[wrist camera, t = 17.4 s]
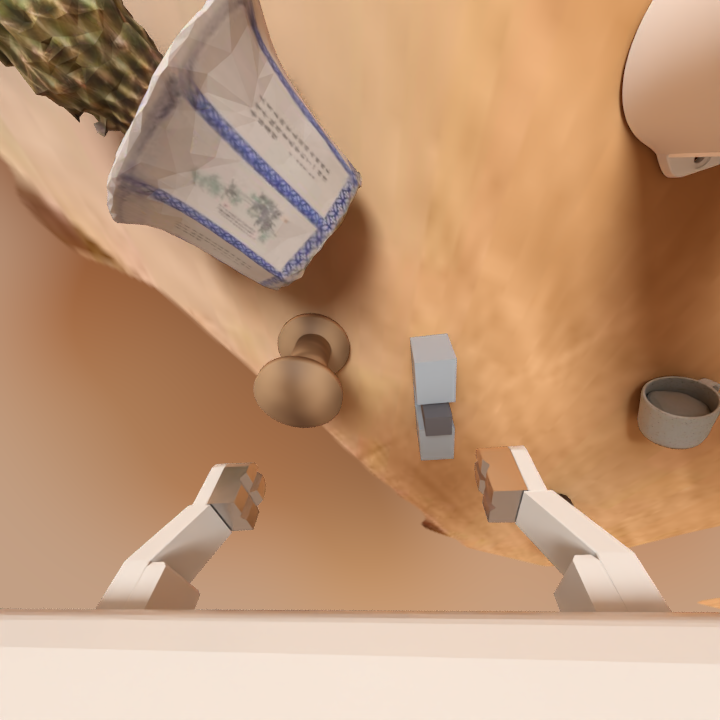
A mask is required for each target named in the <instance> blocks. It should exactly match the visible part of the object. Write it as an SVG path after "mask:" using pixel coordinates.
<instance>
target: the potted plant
mask: <svg viewBox="0 0 720 720" xmlns="http://www.w3.org/2000/svg"><path fill="white" fill-rule="evenodd" d="M0 61H1V62H2V63H3V64H4V65H5V66H6V67H10V66H15V67H16V68H17V70H18V71H19V72H20V74H21V75H22V76H23V78H24V79H25V80H26V82H27V83H28V84H29V85H30V87H31V88H32V89H33V91H34V92H35V93H36V95H42V96H46V97H48V98H49V99H51V100H52V101H53V102H55V103H56V104H58V105H59V106H62V107H64V108H65V109H66V110H67V111H68V112H69V113H71V114H72V115H73V116H74V117H75V118H76V119H77V120H78V121H79V122H80V119H79V117H80V116H81V115H82V114H83V112H87V113H90V114H92V115H94V116H95V118H96V119H97V120H98V121H99V122H97V123H95V124H94V126H95V128H96V131H97V133H99V134H100V135H102V136H104V137H105V135H106V134H107V132H108V131H122V132H123V133H124V134H125V136H124V138H123V140H122V142H121V144H120V146H119V148H118V150H117V153H116V159H115V161H114V164H113V166H112V169H111V171H110V174H109V176H108V181H107V190H108V202H107V206H108V209H109V212H110V214H111V216H112V218H113V220H114V221H115V222H117V223H126V224H141V225H148V226H151V227H155V228H159V229H162V230H164V231H166V232H168V233H170V234H173V235H175V236H177V237H179V238H181V239H183V240H185V241H187V242H189V243H191V244H193V245H195V246H197V247H198V248H200V249H202V250H203V251H205V252H207V253H208V254H210V255H212V256H213V257H215V258H216V259H218V260H219V261H221V262H223V263H225V264H227V265H228V266H230V267H232V268H233V269H235V270H236V271H238V272H239V273H241V274H243V275H245V276H246V277H248V278H250V279H252V280H254V281H256V282H257V283H259V284H261V285H263V286H264V287H267V288H270V289H274V290H279V289H280V288H281V287H284V286H289V285H290V284H291V283H292V282H293V281H295V280H297V279H299V278H301V277H302V276H303V274H304V272H305V269H306V268H307V266H308V264H309V263H310V261H311V260H312V258H313V257H314V256H315V255H316V254H317V253H318V252H319V251H320V250H321V249H322V247H323V245H324V244H325V242H326V240H327V239H328V238H329V237H330V236H331V235H332V234H333V233H334V232H335V231H336V230H337V229H338V228H339V227H340V226H341V224H342V222H343V220H344V218H345V216H346V215H347V212H348V209H349V206H350V204H351V203H352V201H353V200H354V197H355V195H356V193H357V190H358V188H360V187H361V186H362V177H361V175H360V173H359V172H357V171H356V169H355V168H354V167H353V166H352V164H351V163H350V162H349V160H348V159H347V158H346V157H345V155H344V154H343V153H342V152H341V151H340V149H339V148H338V147H337V146H336V144H335V143H334V142H333V141H332V139H331V138H330V137H329V136H328V134H327V133H326V132H325V130H324V129H323V128H322V126H321V125H320V124H319V122H318V121H317V120H316V118H315V117H314V115H313V114H312V113H311V111H310V110H309V108H308V107H307V106H306V104H305V103H304V101H303V100H302V98H301V97H300V95H299V94H298V92H297V91H296V89H295V88H294V86H293V85H292V83H291V82H290V80H289V78H288V76H287V75H286V73H285V71H284V69H283V67H282V65H281V63H280V61H279V59H278V57H277V54H276V52H275V49H274V47H273V44H272V42H271V39H270V36H269V32H268V29H267V26H266V22H265V19H264V15H263V12H262V9H261V5H260V1H259V0H207V1H206V3H205V5H204V6H203V8H202V9H201V10H200V11H199V12H198V13H197V14H196V15H195V16H194V17H193V18H192V19H191V20H190V21H189V22H188V23H187V24H186V25H185V26H184V28H183V29H182V30H181V31H180V33H179V34H178V35H177V37H176V38H175V39H174V41H173V42H172V44H171V45H170V47H169V49H168V51H167V52H166V54H165V56H163V55H162V54H160V53H159V52H158V50H157V48H156V46H155V44H154V42H153V41H152V39H151V38H150V37H149V36H148V34H147V32H146V31H145V29H144V28H143V27H142V26H140V25H139V24H138V23H137V22H136V21H135V20H134V19H133V17H132V15H131V14H130V13H129V11H128V10H127V9H126V8H125V7H124V5H123V1H122V0H0Z"/></svg>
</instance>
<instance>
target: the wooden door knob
mask: <svg viewBox="0 0 720 720" xmlns="http://www.w3.org/2000/svg"><path fill="white" fill-rule="evenodd" d="M278 350H279V353H280V355H281V357H279V358H276V359H274V360H272V361H270V362H268V363H267V364H266V365H265V366H263V368H262V369H261V370H260V372H259V374H258V376H257V377H256V379H255V382H254V388H253V389H254V396H255V399H256V401H257V403H258V405H259V406H260V408H261V409H262V410H263V411H264V412H265V413H266V414H267V415H268V416H270V417H271V418H273V419H274V420H276V421H278V422H280V423H283V424H285V425H289V426H293V427H300V428H310V427H316V426H320V425H323V424H325V423H327V422H329V421H331V420H332V419H333V418H334V417H335V416H336V415H337V414H338V412H339V411H340V408H341V405H342V398H343V390H342V386H341V383H340V381H339V379H338V378H337V376H336V375H335V374H334V373H336V372H337V371H339V370H340V369H341V368H342V367H343V366H344V365H345V363H346V361H347V359H348V355H349V340H348V337H347V335H346V333H345V331H344V330H343V328H342V327H341V326H340V325H339V324H338V323H337V322H335V321H334V320H332V319H330V318H328V317H326V316H323V315H320V314H311V313H310V314H302V315H298V316H296V317H294V318H292V319H290V320H289V321H288V322H287V323H286V324H285V325H284V327H283V328H282V330H281V332H280V334H279V337H278Z"/></svg>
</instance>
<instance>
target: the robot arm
mask: <svg viewBox="0 0 720 720" xmlns="http://www.w3.org/2000/svg"><path fill="white" fill-rule="evenodd" d="M622 99H623V109H624V114H625V117H626V120H627V123H628V125H629V127H630V129H631V131H632V132H633V134H634V135H635V136H636V137H637V138H638V139H639V140H640V141H641V142H642V143H644V144H645V145H647V146H648V147H650V148H651V149H652V150H653V151H654V152H655V153H656V155H657V158H658V162H659V165H660V168H661V170H662V172H663V174H664V175H665V176H666V177H669V178H674V177H683V176H687V175H690V174H693V173H696V172H698V171H701V170H704V169H707V168H710V167H713V166H716V165H719V164H720V0H653V1H652V3H651V4H650V6H649V8H648V10H647V12H646V13H645V15H644V17H643V19H642V21H641V24H640V26H639V28H638V30H637V33H636V35H635V38H634V40H633V43H632V46H631V49H630V52H629V55H628V59H627V63H626V67H625V72H624V78H623V90H622ZM695 157H698V158H697V160H696V161H694V159H695ZM476 458H477V462H476V463H475V478H476V482H477V486H478V490H479V491H480V492H481V493H482V494H483V506H484V510H485V513H486V516H487V519H488V522H516V523H515V524H516V525H517V526H518V527H519V528H520V529H521V530H522V531H523V533H524V534H525V535H526V536H527V537H528V538H529V539H530V540H531V541H532V542H533V543H534V544H535V545H536V547H537V548H538V549H539V550H540V551H541V552H542V553H543V554H544V555H545V556H546V557H547V558H548V559H549V561H550V562H551V563H552V564H553V565H554V566H555V567H556V568H557V569H558V570H559V571H560V572H561V573H562V574H563V578H562V580H561V582H560V583H559V585H558V587H557V589H556V591H555V593H554V596H555V599H556V601H557V604H558V606H559V609H560V612H541V611H540V612H539V611H536V612H535V611H527V612H526V611H365V610H363V611H362V610H361V611H360V610H358V611H357V610H194V609H195V606H196V604H197V601H198V599H199V596H200V593H199V591H198V590H197V589H196V588H195V587H194V586H192V585H191V584H190V582H191V581H192V580H193V579H194V578H195V576H196V575H197V574H198V573H199V572H200V570H201V569H202V568H203V567H204V566H205V564H206V563H207V561H209V559H210V558H211V557H212V556H213V555H214V553H215V552H216V551H217V550H218V548H219V547H220V546H221V545H222V543H223V542H224V541H225V540H226V539H227V538H228V536H229V535H230V534H231V533H232V532H231V531H238V530H253V529H254V526H255V523H256V520H257V517H258V514H259V510H258V507H257V505H259V504H260V503H261V501H262V500H263V498H264V495H265V490H266V483H265V479H264V477H263V475H262V474H260V473H258V472H257V471H258V466H257V465H256V463H229V464H216V465H215V466H214V467H213V468H212V469H211V471H210V473H209V475H208V477H207V479H206V480H205V482H204V484H203V486H202V488H201V490H200V492H199V494H198V496H197V498H196V500H195V501H194V503H193V505H189V506H188V507H186V508H185V509H184V510H183V511H182V512H181V513H180V514H178V515H177V516H176V517H175V518H174V519H173V520H172V521H170V522H169V523H168V524H167V525H166V526H165V527H164V528H162V529H161V530H160V531H159V532H158V533H157V534H156V535H154V536H153V537H152V538H151V539H150V540H149V541H147V542H146V543H145V544H144V545H143V546H142V547H141V548H139V549H138V550H137V551H136V552H135V553H134V554H132V555H131V556H130V557H129V558H128V559H127V560H126V561H125V562H124V563H123V565H122V567H121V569H120V570H119V571H118V573H117V575H116V576H115V578H114V580H113V581H112V583H111V584H110V586H109V588H108V589H107V591H106V593H105V594H104V596H103V597H102V599H101V601H100V602H99V604H98V606H97V607H96V609H9V608H0V720H720V613H718V612H717V613H716V612H711V613H710V612H706V613H705V612H672V611H671V610H670V608H669V607H668V605H667V603H666V602H665V600H664V599H663V597H662V596H661V594H660V593H659V591H658V589H657V588H656V586H655V585H654V583H653V581H652V580H651V578H650V577H649V575H648V574H647V572H646V570H645V569H644V567H643V566H642V564H641V563H640V561H639V559H638V558H637V557H636V555H635V553H634V552H632V551H631V550H630V549H628V548H627V547H626V546H625V545H623V544H622V543H621V542H619V541H618V540H617V539H616V538H614V537H613V536H612V535H610V534H609V533H608V532H606V531H605V530H604V529H603V528H601V527H600V526H599V525H597V524H596V523H595V522H593V521H592V520H591V519H589V518H588V517H587V516H586V515H584V514H583V513H582V512H580V511H579V510H578V509H576V508H575V507H574V506H573V505H571V504H570V503H569V502H567V501H566V500H565V499H563V498H562V497H561V496H560V495H558V494H557V493H556V492H554V491H553V490H547V488H546V486H545V484H544V482H543V480H542V478H541V476H540V475H539V473H538V471H537V469H536V467H535V465H534V463H533V461H532V459H531V457H530V455H529V453H528V451H527V449H526V448H525V447H524V446H509V447H507V446H503V447H490V448H477V450H476Z"/></svg>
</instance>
